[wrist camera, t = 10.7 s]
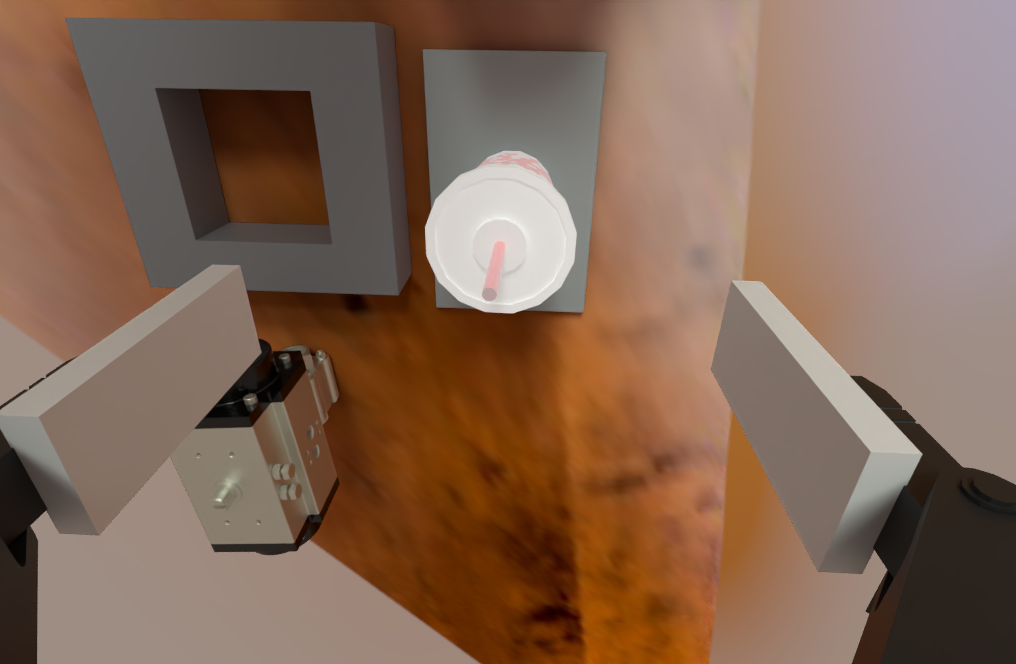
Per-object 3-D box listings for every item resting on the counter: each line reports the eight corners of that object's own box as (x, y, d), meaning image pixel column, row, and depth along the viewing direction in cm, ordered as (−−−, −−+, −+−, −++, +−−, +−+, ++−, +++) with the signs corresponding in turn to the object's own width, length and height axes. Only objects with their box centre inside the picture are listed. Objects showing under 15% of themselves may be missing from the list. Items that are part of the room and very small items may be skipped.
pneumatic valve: (300, 442, 39) (210, 588, 28) (253, 296, 34) (122, 408, 23) (373, 441, 39) (311, 588, 28) (338, 292, 33) (244, 404, 23)
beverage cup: (494, 266, 31) (464, 404, 19) (433, 175, 29) (353, 263, 17) (587, 212, 29) (621, 324, 17) (530, 111, 27) (520, 155, 15)
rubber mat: (425, 49, 27) (422, 49, 26) (605, 52, 26) (606, 51, 26) (438, 303, 33) (436, 307, 33) (582, 308, 33) (583, 312, 32)
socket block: (119, 22, 27) (64, 17, 24) (393, 26, 26) (374, 22, 23) (187, 265, 33) (150, 286, 30) (411, 272, 32) (398, 295, 29)
